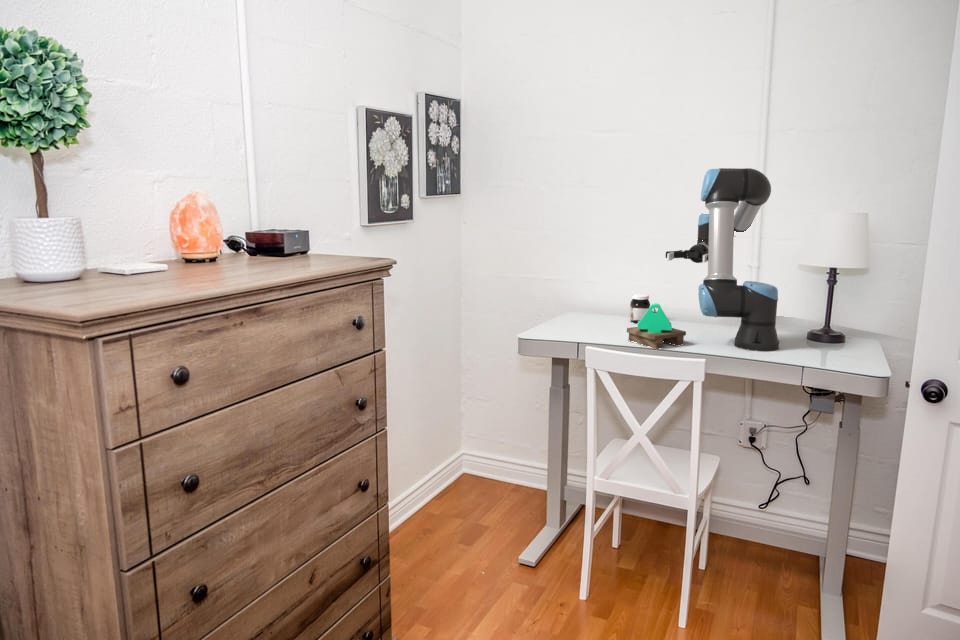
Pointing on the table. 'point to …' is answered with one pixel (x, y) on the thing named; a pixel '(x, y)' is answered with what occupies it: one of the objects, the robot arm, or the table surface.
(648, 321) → the camera mount
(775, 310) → the robot arm
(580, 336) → the table surface
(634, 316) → the spread jar
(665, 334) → the walnut stand
